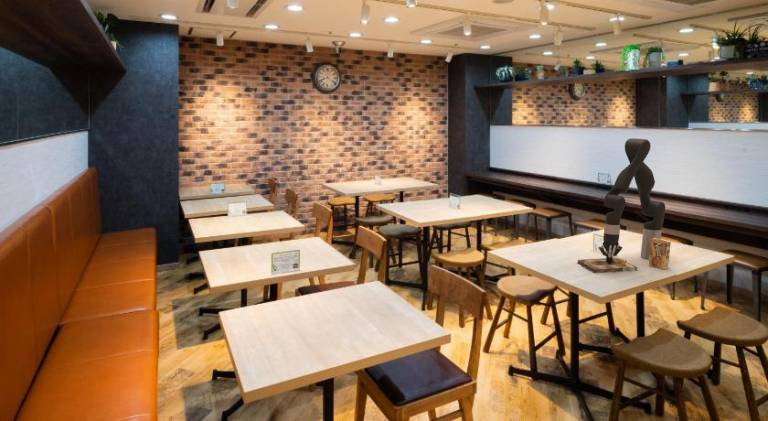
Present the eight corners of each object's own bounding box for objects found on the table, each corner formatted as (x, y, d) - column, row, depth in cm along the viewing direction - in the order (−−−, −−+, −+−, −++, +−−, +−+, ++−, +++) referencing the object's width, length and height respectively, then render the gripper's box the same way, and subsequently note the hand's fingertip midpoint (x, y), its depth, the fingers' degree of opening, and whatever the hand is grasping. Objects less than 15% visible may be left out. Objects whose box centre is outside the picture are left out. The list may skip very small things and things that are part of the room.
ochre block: (618, 262, 263) (619, 257, 263) (625, 266, 258) (626, 260, 257) (608, 263, 262) (609, 258, 262) (615, 266, 257) (616, 261, 256)
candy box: (668, 268, 259) (671, 240, 256) (664, 269, 257) (667, 242, 254) (651, 264, 266) (654, 237, 263) (647, 265, 264) (650, 238, 261)
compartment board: (617, 261, 273) (617, 255, 272) (636, 270, 256) (637, 264, 256) (577, 263, 270) (578, 257, 269) (594, 272, 253) (594, 266, 253)
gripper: (619, 230, 260) (616, 260, 264) (596, 230, 259) (593, 262, 262) (627, 233, 253) (624, 265, 256) (604, 234, 251) (601, 266, 255)
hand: (608, 263), depth 259 cm, fingers closed
